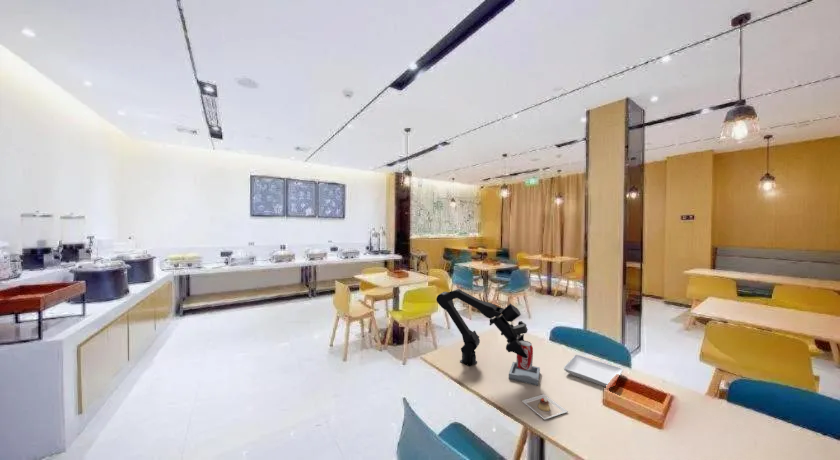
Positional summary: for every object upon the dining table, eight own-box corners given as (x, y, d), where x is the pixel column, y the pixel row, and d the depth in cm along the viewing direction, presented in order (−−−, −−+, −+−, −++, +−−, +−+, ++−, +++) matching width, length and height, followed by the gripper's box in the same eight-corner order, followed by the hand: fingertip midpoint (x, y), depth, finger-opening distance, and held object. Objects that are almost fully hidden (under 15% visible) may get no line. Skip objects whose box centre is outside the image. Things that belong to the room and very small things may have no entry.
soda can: (535, 370, 136) (536, 345, 135) (522, 372, 133) (523, 347, 133) (525, 363, 142) (526, 339, 142) (513, 365, 140) (514, 340, 140)
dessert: (521, 403, 118) (521, 391, 118) (543, 396, 123) (544, 385, 123) (544, 422, 107) (544, 409, 107) (568, 414, 112) (568, 402, 112)
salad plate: (623, 374, 140) (623, 367, 140) (614, 393, 125) (615, 386, 125) (575, 359, 155) (575, 353, 155) (562, 375, 140) (562, 368, 139)
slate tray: (508, 378, 135) (508, 373, 135) (512, 366, 146) (513, 361, 146) (537, 385, 130) (537, 380, 130) (539, 372, 141) (539, 367, 141)
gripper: (514, 323, 130) (540, 353, 126) (519, 311, 147) (542, 338, 143) (495, 337, 134) (520, 367, 130) (503, 324, 151) (525, 350, 146)
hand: (527, 354), depth 137 cm, fingers closed on soda can, 7 cm apart
